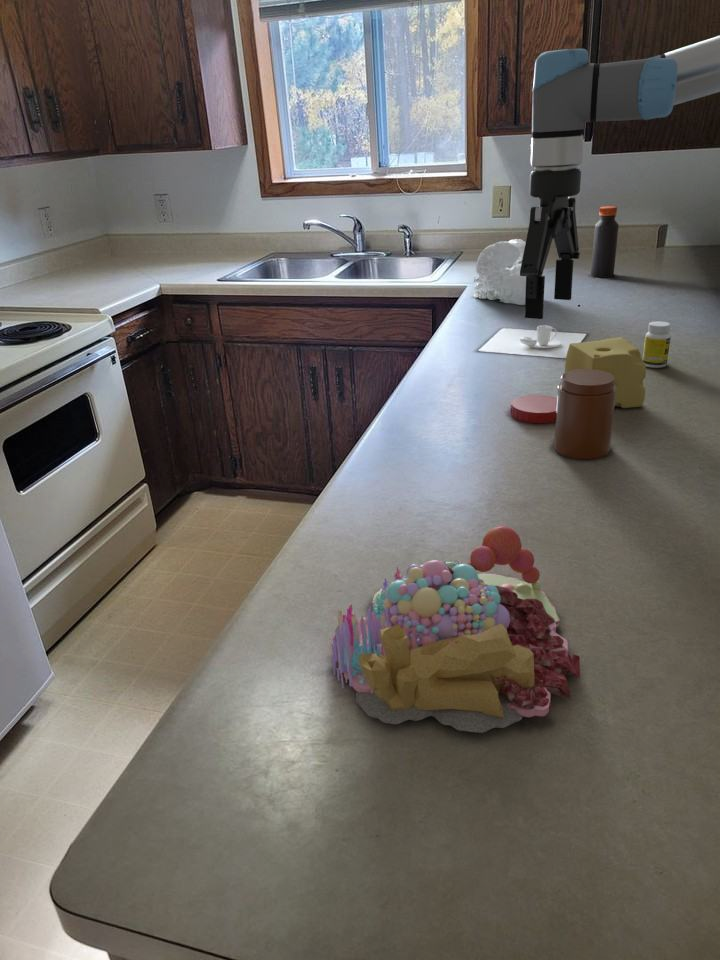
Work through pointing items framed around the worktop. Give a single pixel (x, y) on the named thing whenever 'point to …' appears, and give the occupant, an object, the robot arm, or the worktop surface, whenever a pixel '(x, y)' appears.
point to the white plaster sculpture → (501, 273)
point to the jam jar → (584, 413)
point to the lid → (534, 408)
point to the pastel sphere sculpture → (458, 643)
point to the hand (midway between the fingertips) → (548, 308)
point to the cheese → (612, 366)
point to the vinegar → (605, 243)
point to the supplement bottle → (657, 344)
